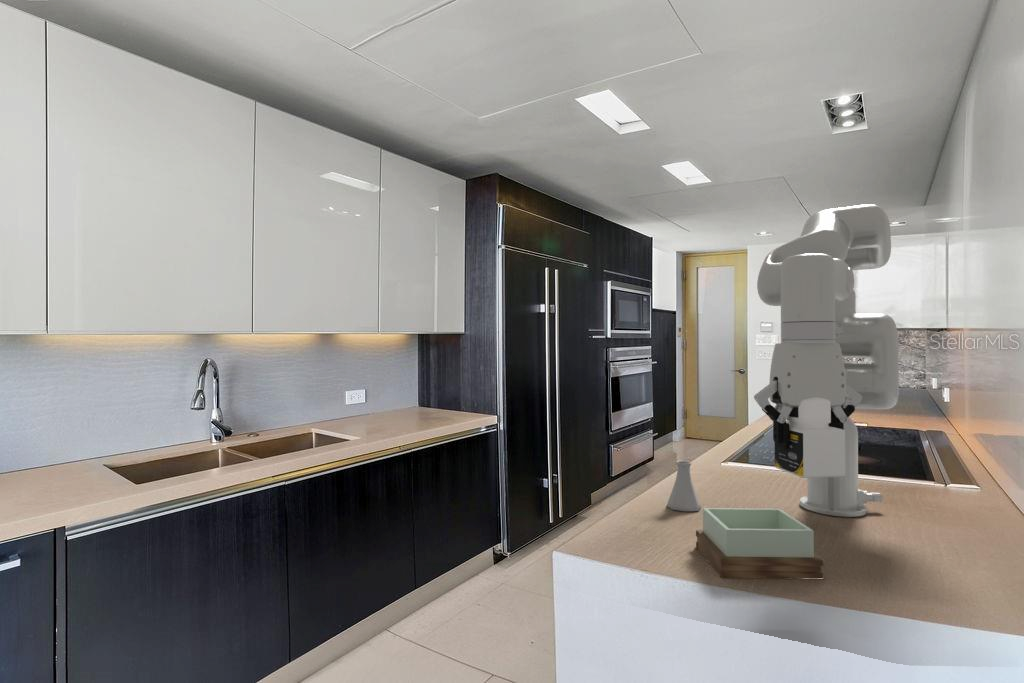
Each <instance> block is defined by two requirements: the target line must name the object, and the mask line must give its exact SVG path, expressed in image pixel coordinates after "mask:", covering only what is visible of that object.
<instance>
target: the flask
mask: <svg viewBox="0 0 1024 683" xmlns="http://www.w3.org/2000/svg"><path fill="white" fill-rule="evenodd" d="M675 465H676V466H677V468H676V469H677V470H676V471H677V473H676V478H675V481H674V484H673V488H672V490H671V493H670V495H669V499H668V501H667V503H666V507H667V508H669V509H671V510H675V511H680V512H699V511H700V510H701V509H702V505H701V503H700V500H699V497H698V495H697V493H696V490H695V489H696V488H695V486H694V484H693V481H692V475H691V465H692V462H691V461H688V460H677V461H676V463H675Z"/></svg>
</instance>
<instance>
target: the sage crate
mask: <svg viewBox="0 0 1024 683" xmlns="http://www.w3.org/2000/svg"><path fill="white" fill-rule="evenodd" d="M702 530H703V532H704V533H705V534H706V535H707V536H708V537H709V538H710V540H711V541H712V542H713V543H714V544H715V545H716V546H717V547H718V548H719V549H720V550H721V551H722V552H723V553H724V554H725V555H726V556H727V557H811V558H814V554H815V552H814V551H815V546H814V545H815V540H814V538H815V535H814V534H815V533H814V532H815V530H813V529H812V528H810V527H809V526H807V525H806V524H805V523H802V522H801V521H799V520H797V518H794V517H793V516H792V515H790V514H789V513H787V512H785V511H784V510H783V509H781V508H738V507H737V508H734V507H733V508H730V507H729V508H728V507H727V508H726V507H720V508H719V507H703V508H702Z"/></svg>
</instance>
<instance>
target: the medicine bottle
mask: <svg viewBox="0 0 1024 683" xmlns="http://www.w3.org/2000/svg"><path fill="white" fill-rule="evenodd" d="M786 421H788V423H789V434H790V447H789V448H788V449H783V448H780V447H777V446H776V445H775V444H774V468H776V469H777V470H781V471H782V472H786V473H788V474H791V475H794V476H796V477H799V478H801V479H807V478H819V477H844V476H845V431H844V430H843V429H839V428H835V427H830V426H828V423H831V406H830V401H829V400H828V399H824V398H808V399H805V400H803V401H801V405H800V406H798V407H793V409H792V410H791V412H790V414H789V416H788V417H787V419H786Z"/></svg>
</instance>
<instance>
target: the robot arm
mask: <svg viewBox="0 0 1024 683" xmlns="http://www.w3.org/2000/svg"><path fill="white" fill-rule="evenodd" d="M804 223H805V224H804V226H803V228H802V231H801V234H800V237H797V238H795V239H793V240H791V241H789V242H785V244H782V245H780V246H778V247H776V248H774V249H773V250H771V251H770V252H769V253H768V254H767V255H766V256H765V258H764V259H763V262H762V264H761V266H760V270H759V272H758V276H757V281H756V282H757V283H756V285H757V286H756V288H757V289H756V290H757V293H758V297H759V298H760V300H761V301H762V302H763V303H764V304H765V305H767V306H773V307H780V343H777V342H776V343H774V347H773V353H772V356H771V363H770V370H769V372H770V373H769V383H768V384H767V385H766V386H765V387H764V388H762V389H761V390H760V391H758V392H756V394H754V395H753V399H754V400H755V402H756V403H757V404H758V406H759V407H760V408H761V410H762V411H763V413H765V415H767V416H768V418H769V419H770V421H772V435H773V436H772V439H773V442H774V446H775V445H776V446H777V447H780V448H783V449H788V448H789V447H790V434H789V422H787V417H788V416H789V414H790V412H791V410H792V409H793V407H798V406H800V405H801V401H803V400H805V399H808V398H824V399H828V400H829V401H830V406H831V423H828V426H830V427H835V428H839V429H843V430H844V431H845V476H844V477H819V478H806V479H807V480H806V481H807V482H806V483H807V486H806V487H807V495H806V496H802V497H800V498H799V506H801V508H804V509H806V510H808V511H810V512H814V513H817V514H822V515H827V516H834V517H843V518H844V517H845V518H853V517H855V518H856V517H862V516H865V515H867V513H868V508H867V506H866V505H864V504H866V503H868V502H871V503H881V502H883V495H882V494H881V493H880V492H868V491H867V490H862V489H860V488H859V432H858V427H857V424H855V421H854V420H853V418H852V417H850V416H852V415H853V413H854V412H855V411H856V409H862V410H863V409H865V410H890V409H893V408H894V407H895V406H896V405H897V403H898V401H899V395H900V372H899V370H900V369H899V365H900V364H899V361H900V360H899V359H900V358H899V356H900V355H899V335H898V334H899V333H898V328H897V324H896V322H895V320H894V319H893V317H892V316H890V315H888V314H884V313H879V312H877V313H873V312H870V313H857V312H856V311H857V310H856V304H857V303H856V302H857V301H856V299H857V298H856V297H857V295H856V292H855V289H854V288H855V274H854V271H863V270H875V269H880V268H882V267H884V266H885V265H886V264H887V263H888V262H889V260H890V257H891V253H892V240H891V239H892V238H891V233H892V232H891V225H890V224H891V223H890V220H889V216H888V214H887V213H886V211H885V209H883V208H882V207H881V206H879V205H877V204H872V203H871V204H870V203H869V204H860V205H853V206H846V207H845V206H844V207H838V208H837V207H836V208H829V209H824V210H820V211H818V212H816V213H814V214H812V215H811V216H810V217H809V218H808V219H807V220H806V221H805V222H804ZM845 358H846V359H847V358H856V359H860V358H861V359H862V358H863V359H869V360H870V361H872V363H858V362H856V363H854V362H853V363H852V362H851V363H850V362H845V361H844V359H845ZM770 402H771V403H773V404H775V406H774V405H772V404H771V403H770Z"/></svg>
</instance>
